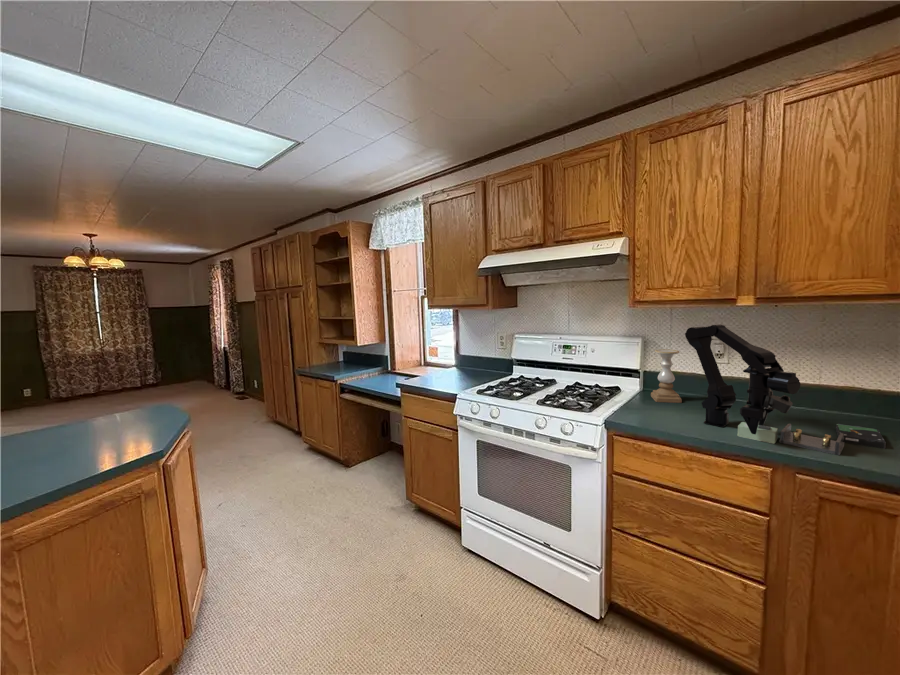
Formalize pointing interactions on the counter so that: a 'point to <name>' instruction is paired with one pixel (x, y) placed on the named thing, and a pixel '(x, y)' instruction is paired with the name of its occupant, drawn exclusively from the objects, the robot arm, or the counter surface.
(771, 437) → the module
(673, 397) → the candle holder
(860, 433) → the disk drive
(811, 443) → the chassis
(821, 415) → the counter surface
